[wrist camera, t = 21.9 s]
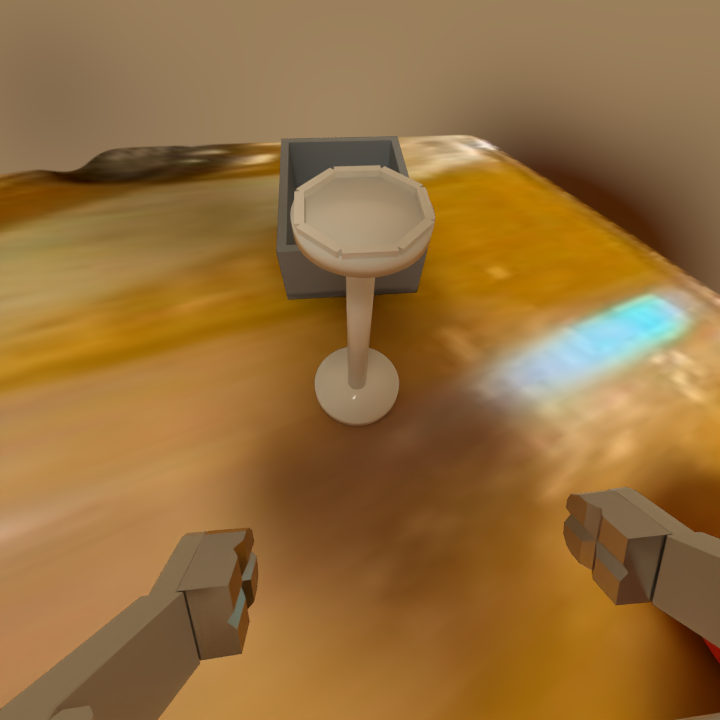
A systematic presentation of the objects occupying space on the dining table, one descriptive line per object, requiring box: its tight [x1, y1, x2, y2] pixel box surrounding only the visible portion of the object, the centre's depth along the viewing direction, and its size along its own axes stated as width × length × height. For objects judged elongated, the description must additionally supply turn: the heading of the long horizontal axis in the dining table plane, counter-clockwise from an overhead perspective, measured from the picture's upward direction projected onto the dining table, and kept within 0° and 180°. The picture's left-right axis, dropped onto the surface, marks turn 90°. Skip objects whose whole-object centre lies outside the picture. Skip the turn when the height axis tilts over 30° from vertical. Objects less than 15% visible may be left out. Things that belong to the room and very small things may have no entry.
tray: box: [276, 136, 428, 299], centre depth 35 cm, size 13×18×6 cm
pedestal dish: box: [290, 165, 435, 426], centre depth 21 cm, size 7×7×17 cm
